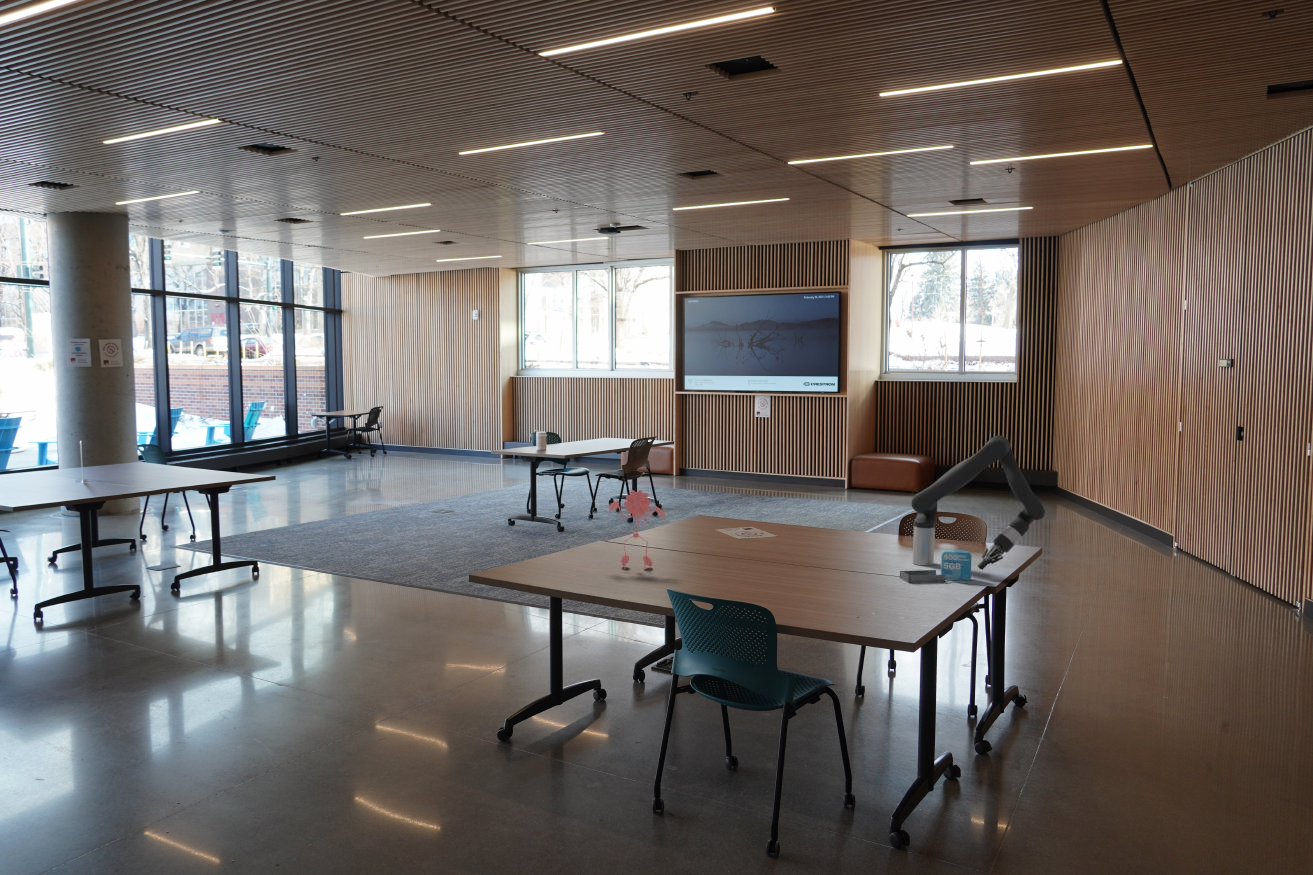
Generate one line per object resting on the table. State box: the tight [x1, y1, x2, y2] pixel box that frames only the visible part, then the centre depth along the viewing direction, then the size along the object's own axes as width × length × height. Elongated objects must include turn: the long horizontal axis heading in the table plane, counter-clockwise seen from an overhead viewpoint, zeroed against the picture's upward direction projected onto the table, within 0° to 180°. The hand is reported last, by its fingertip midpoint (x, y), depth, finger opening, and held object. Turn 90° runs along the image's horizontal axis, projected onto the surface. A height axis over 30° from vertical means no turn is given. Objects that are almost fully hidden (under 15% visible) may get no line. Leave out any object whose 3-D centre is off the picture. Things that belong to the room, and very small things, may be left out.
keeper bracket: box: [899, 569, 946, 584], centre depth 381 cm, size 10×16×3 cm, turn 98°
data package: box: [940, 549, 972, 581], centre depth 383 cm, size 12×4×12 cm, turn 76°
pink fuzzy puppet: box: [608, 489, 666, 571], centre depth 405 cm, size 15×26×35 cm, turn 80°
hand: (979, 567), depth 385 cm, fingers closed
